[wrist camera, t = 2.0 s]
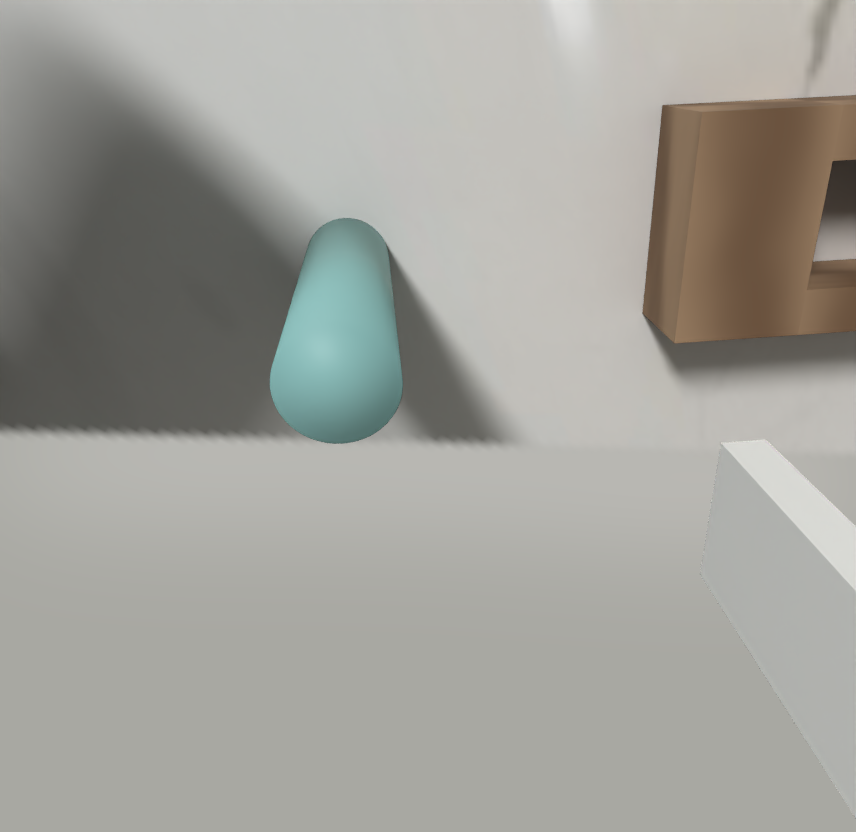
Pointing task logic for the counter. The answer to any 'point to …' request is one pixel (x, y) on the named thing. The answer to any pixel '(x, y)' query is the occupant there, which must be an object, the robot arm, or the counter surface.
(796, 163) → the hole block
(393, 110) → the counter surface
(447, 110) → the counter surface
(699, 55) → the counter surface
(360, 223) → the peg
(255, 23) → the counter surface
